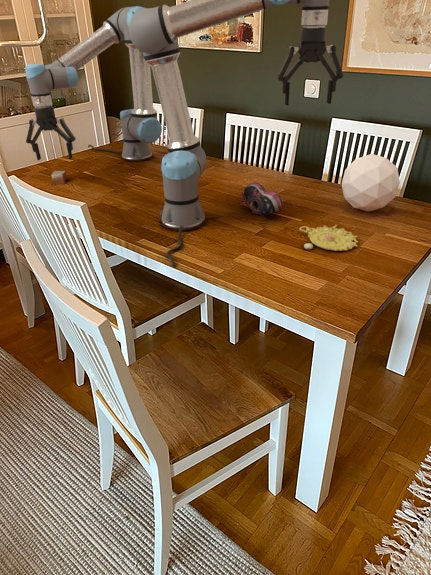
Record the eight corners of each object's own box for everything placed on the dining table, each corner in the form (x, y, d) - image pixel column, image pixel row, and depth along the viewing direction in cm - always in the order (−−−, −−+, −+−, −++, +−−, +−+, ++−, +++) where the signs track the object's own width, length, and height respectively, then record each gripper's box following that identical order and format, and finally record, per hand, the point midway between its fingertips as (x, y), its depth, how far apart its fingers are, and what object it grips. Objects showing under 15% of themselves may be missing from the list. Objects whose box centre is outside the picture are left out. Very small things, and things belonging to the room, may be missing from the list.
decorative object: (343, 255, 128) (285, 234, 139) (342, 262, 130) (284, 241, 140) (372, 230, 142) (317, 213, 152) (371, 237, 143) (316, 219, 153)
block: (56, 180, 198) (54, 171, 196) (67, 179, 199) (65, 170, 196) (53, 184, 194) (51, 174, 192) (64, 183, 194) (62, 174, 192)
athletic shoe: (254, 181, 170) (227, 189, 167) (283, 176, 151) (253, 185, 147) (260, 210, 173) (234, 218, 170) (290, 209, 154) (261, 219, 150)
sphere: (373, 230, 162) (391, 201, 143) (326, 202, 166) (337, 171, 147) (398, 193, 166) (419, 160, 148) (352, 167, 171) (366, 133, 152)
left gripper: (9, 109, 176) (23, 162, 188) (72, 107, 177) (82, 160, 188) (15, 105, 182) (28, 157, 194) (76, 103, 183) (85, 155, 194)
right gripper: (273, 28, 127) (270, 107, 138) (359, 26, 127) (349, 104, 139) (269, 27, 133) (267, 102, 145) (351, 25, 134) (343, 100, 145)
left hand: (55, 158), depth 191 cm, fingers open, 13 cm apart
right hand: (307, 103), depth 142 cm, fingers open, 13 cm apart
